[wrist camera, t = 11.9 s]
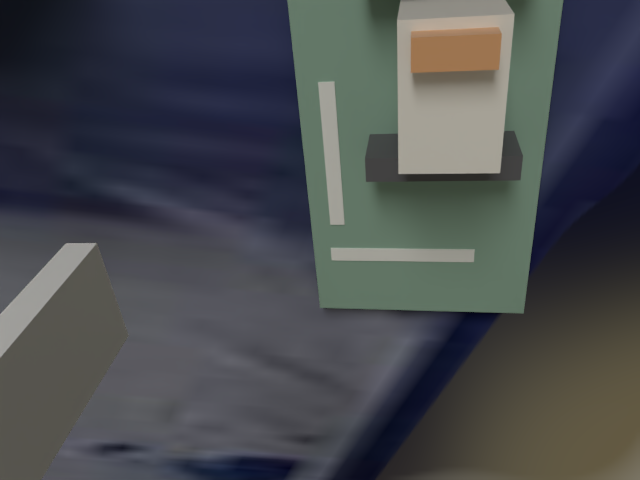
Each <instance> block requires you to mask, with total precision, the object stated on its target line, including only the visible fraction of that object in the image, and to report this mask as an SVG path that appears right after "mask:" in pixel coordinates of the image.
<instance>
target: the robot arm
mask: <svg viewBox="0 0 640 480" xmlns="http://www.w3.org/2000/svg"><path fill="white" fill-rule="evenodd" d="M128 336H129V335H128V332H127V329H126V327H125V324H124V321H123V318H122V315H121V312H120V309H119V306H118V303H117V300H116V297H115V295H114V292H113V289H112V286H111V283H110V280H109V277H108V274H107V271H106V268H105V265H104V263H103V260H102V257H101V254H100V251H99V248H98V245H97V243H66V244H65V245H64V246H63V247H62V248H61V249H60V250H59V251H58V253H57V254H56V255H55V256H54V257H53V258H52V259H51V260H50V261H49V262H48V263H47V264H46V265H45V267H44V268H43V269H42V270H41V271H40V272H39V273H38V274H37V275H36V276H35V277H34V278H33V280H32V281H31V282H30V283H29V284H28V285H27V286H26V287H25V288H24V289H23V290H22V291H21V292H20V294H19V295H18V296H17V297H16V298H15V299H14V300H13V301H12V302H11V303H10V304H9V305H8V307H7V308H6V309H5V310H4V311H3V312H2V313H1V314H0V480H41V479H42V478H43V476H44V474H45V473H46V471H47V469H48V468H49V466H50V464H51V463H52V461H53V459H54V458H55V456H56V454H57V453H58V451H59V449H60V448H61V446H62V445H63V443H64V441H65V440H66V438H67V436H68V435H69V433H70V431H71V430H72V428H73V426H74V425H75V423H76V421H77V420H78V418H79V416H80V415H81V413H82V412H83V410H84V408H85V407H86V405H87V403H88V402H89V400H90V398H91V397H92V395H93V393H94V392H95V390H96V388H97V387H98V385H99V383H100V382H101V380H102V379H103V377H104V375H105V374H106V372H107V370H108V369H109V367H110V365H111V364H112V362H113V360H114V359H115V357H116V355H117V354H118V352H119V350H120V349H121V347H122V346H123V344H124V342H125V341H126V339H127V337H128Z"/></svg>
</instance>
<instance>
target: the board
mask: <svg viewBox="0 0 640 480" xmlns="http://www.w3.org/2000/svg"><path fill="white" fill-rule="evenodd" d="M506 2H507V3H508V5H509V6H510V8H511V9H512V11H513V12H514V14H515V16H514V27H513V38H512V49H511V60H510V70H509V81H508V92H507V103H506V114H505V125H504V136H503V147H502V158H501V169H500V173H466V174H398V69H397V18H398V12H399V6H400V0H288V9H289V19H290V28H291V38H292V47H293V57H294V66H295V75H296V85H297V94H298V104H299V113H300V123H301V132H302V141H303V151H304V160H305V170H306V179H307V189H308V198H309V207H310V217H311V226H312V236H313V245H314V254H315V264H316V273H317V283H318V292H319V302H320V308H346V309H383V310H419V311H456V312H493V313H524V305H525V297H526V289H527V282H528V274H529V266H530V258H531V250H532V242H533V234H534V226H535V219H536V211H537V203H538V195H539V187H540V179H541V171H542V163H543V155H544V147H545V140H546V132H547V124H548V116H549V108H550V100H551V92H552V84H553V76H554V68H555V61H556V53H557V45H558V37H559V29H560V21H561V13H562V5H563V0H506Z"/></svg>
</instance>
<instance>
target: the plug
mask: <svg viewBox="0 0 640 480" xmlns="http://www.w3.org/2000/svg"><path fill="white" fill-rule="evenodd" d="M514 16H515V14H514V12H513V11H512V9H511V8H510V6H509V5H508V3H507V2H506V0H400V6H399V12H398V18H397V69H398V174H466V173H500V169H501V158H502V147H503V136H504V125H505V114H506V103H507V92H508V81H509V70H510V60H511V49H512V38H513V27H514Z"/></svg>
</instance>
